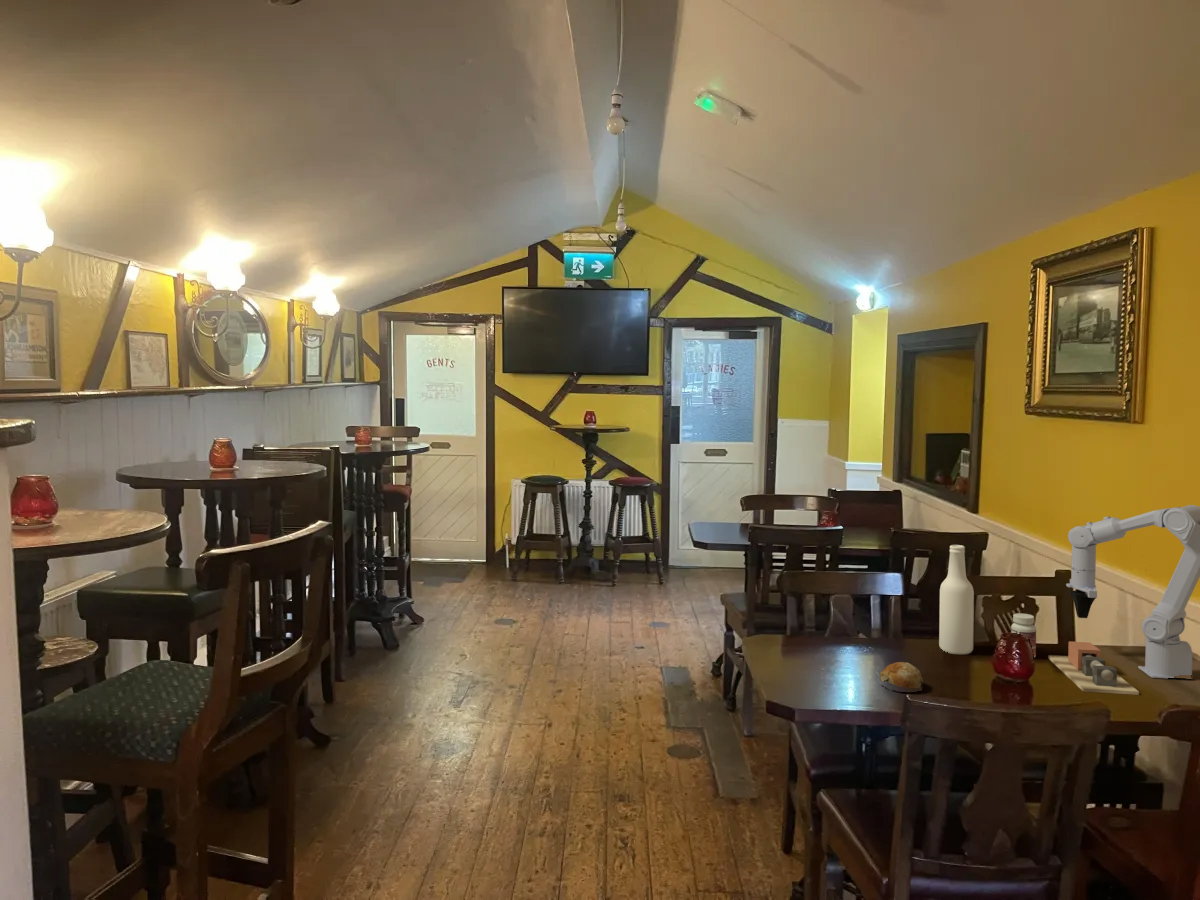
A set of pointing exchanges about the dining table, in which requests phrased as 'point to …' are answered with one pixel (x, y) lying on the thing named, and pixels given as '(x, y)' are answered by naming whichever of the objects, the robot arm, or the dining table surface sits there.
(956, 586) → the alcohol
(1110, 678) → the shaft rig
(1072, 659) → the terracotta arch block
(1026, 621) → the pill bottle
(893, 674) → the bread roll
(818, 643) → the dining table surface
